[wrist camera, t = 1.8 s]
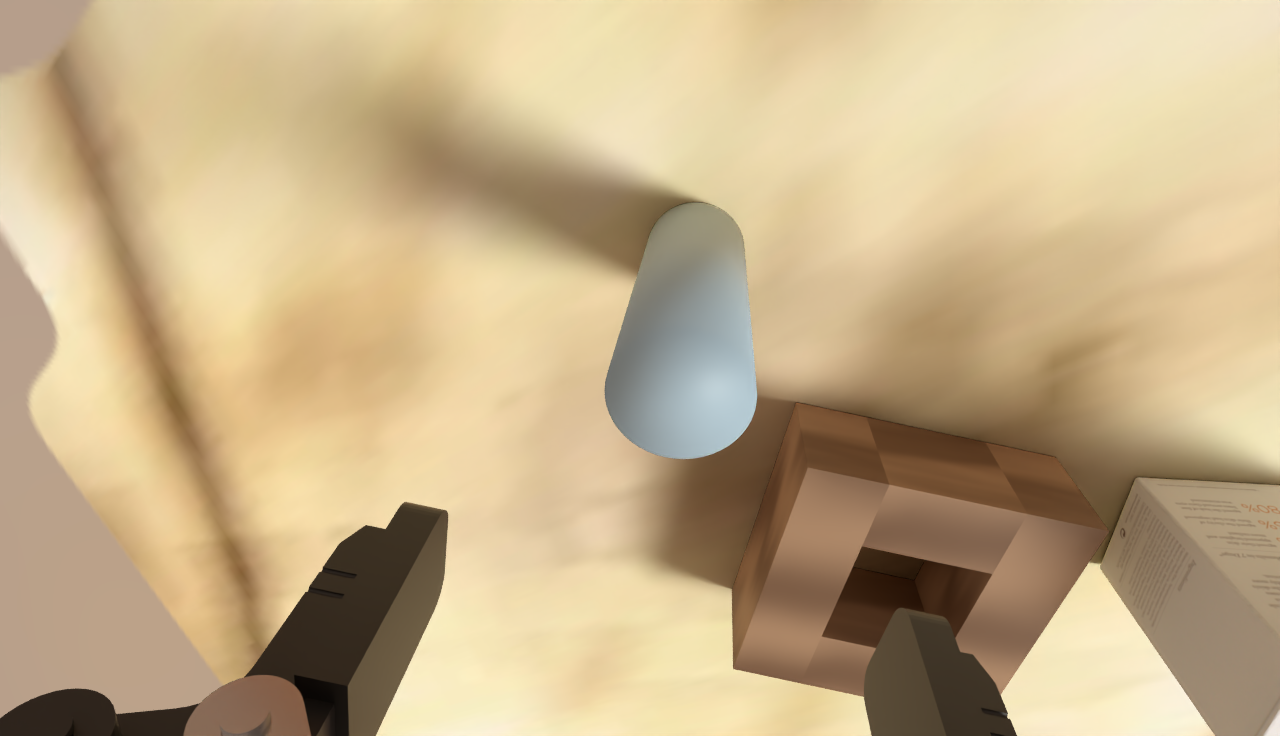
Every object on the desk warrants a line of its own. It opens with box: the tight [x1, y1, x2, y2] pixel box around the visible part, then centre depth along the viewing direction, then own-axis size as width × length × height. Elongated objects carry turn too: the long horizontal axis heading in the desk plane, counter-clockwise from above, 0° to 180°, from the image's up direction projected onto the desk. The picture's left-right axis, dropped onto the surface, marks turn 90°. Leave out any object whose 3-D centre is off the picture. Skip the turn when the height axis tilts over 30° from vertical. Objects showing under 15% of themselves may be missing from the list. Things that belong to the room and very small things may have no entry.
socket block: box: [732, 402, 1109, 697], centre depth 32 cm, size 12×12×5 cm
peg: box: [605, 202, 757, 459], centre depth 24 cm, size 4×4×12 cm
